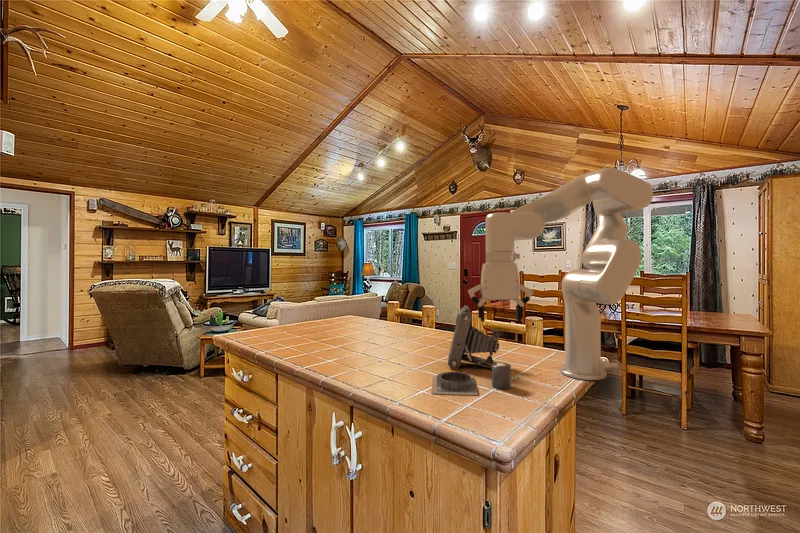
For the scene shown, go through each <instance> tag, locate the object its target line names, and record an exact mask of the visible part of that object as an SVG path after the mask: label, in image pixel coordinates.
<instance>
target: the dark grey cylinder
mask: <svg viewBox="0 0 800 533" xmlns="http://www.w3.org/2000/svg"><path fill="white" fill-rule="evenodd" d="M511 368H512V365H511V364H509V363H507V362H497V363H493V364H492V369H491V387H492V388H493V389H495V390H498V391H499V390H501V391H508V390H511V388H512V385H511V384H512V381H511V378H512V377H511V376H512V373H511V372H512V371H511V370H512V369H511Z"/></svg>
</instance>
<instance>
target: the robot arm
mask: <svg viewBox="0 0 800 533" xmlns="http://www.w3.org/2000/svg"><path fill="white" fill-rule="evenodd" d="M653 191H654V190H653V188H652V186H651V185H650V183H648V182H647V181H645V180H644V179H642V178H639V177H638V176H635V175H633V174H631V173H628V172H626V171H623V170H620V169H617V168H613V167H604V168H600V169H596V170H593V171H590V172H586V173H582V174H580V175H578V176H576V177H575V178H573V179H571V180H569V181H568V182H566V183H565V184H563V185H561V186H560V187H558V188H556V189H554V190H552V191H550V192H548V193H546V194H544V195H541V196H540V197H539V198H536V199H534V200H532V201H530V202H528V203H526V204H524V205H522V206H519V207H517V208H516V209H514V210H512V211H510V212H506V211H505V212H503V211H501V212H492V213H488V214H487V215H486V216H485V263H482V266H481V276H480V284H478V285H475V286H474V287H472V288H470V289H468V290H467V292H468V294H469V297H470V298H471V300H472V301H473V302H474V303H475V304H476V305H477V306H478V307H477V310H478V312H477V313H478V314H477V316H478V318H480V321H481V322H484V321H485V306H484V304H485V303H486V302H487V301H514V302H516V306H515V320H516V321H517V322H518V323H519V322H520V323H521V322H522V319H523V318H524V306H525V305H527V304H528V302H529V301H530V300H531V298H532V296H533V294H534V290H533V289H532V288H529V287H527V286H525V285H523V284H521V283H520V274H519V268H518V264H517V263H516V260H520V258H521V254H520V253H516V252H515V241H527V240H528V241H529V240H533V239H536V238H539V236H541V235H542V234H543V233H544V231H545V228H546V227H545V225H546V224H547V223H551V222H556V221H559V220H562V219H565V218H568V217H569V216H571V215H572V214H574V213H575V212H577V211H578V210H580V209H581V208H584V207H585V206H586V205H587V204H590V203H592V206H593V209H594V213H595V215H596V220H597V226H596V229H595V231H594V233H593V234H592V237H591V238H590V240H589V242H588V244H587V245H586V247H585V249H584V250H583V253H582V257H581V263H582V265H583V267H585V268H586V269H584V268H581V269H580V268H579V269H573V270H570V271H568V272H567V273H565V275H564V276H563V277H562V280H561V291H562V296H563V301H564V311H565V312H564V316H565V318H564V319H565V320H564V321H565V323H564V324H565V326H564V328H565V330H564V331H565V332H564V333H565V334H564V335H565V336H564V338H565V340H564V341H565V342H564V343H565V345H564V353H565V355H564V357H565V359H564V360H565V361H564V362H565V363H564V364H562V365H560V367H559V372H560V373H561V374H563V375H564V376H566V377H570V378H574V379H578V380H584V381H600V380H604V379H605V378H607V371H608V370H619V366H620V365H619V363H617V362H610V361H608V360H607V361H606V360H602V359H601V352H602V351H601V350H602V349H601V348H602V347H601V334H602V333H601V328H602V327H601V326H602V324H601V323H602V320H601V313H600V312H601V311H600V310H599V308H598V305H597V304H601V305H614V304H617V303H618V302H619V301H621V300H622V298H624V296H625V294H626V292H627V291H628V289H629V287H630V286H631V283H632V282H633V280H634V278H635V275H636V274H637V271H638V270H639V267H640V266H641V262H642V251H641V247H640V245H639V244H638V242H635V241H634V240H632V239H629V238H627V235H628V231H629V230H628V227H627V224H626V222H625V221H624V219H623V217H622V215H621V213H626V212H633V211H639V210H643V209H645V208H647V207H648V206H649V205H650V204H651V203H652V202H653V197H654V196H653V195H654V192H653ZM478 291H480V296H481V297H480V299H478V297H477V296H476V295H475V293H476V292H478ZM521 291H523V292H525V295H524V297H523V298H520V296H521Z"/></svg>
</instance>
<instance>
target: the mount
mask: <svg viewBox="0 0 800 533" xmlns="http://www.w3.org/2000/svg"><path fill="white" fill-rule="evenodd" d="M431 379H432V380H431V389H430V390H431V395H455V396H456V395H457V396H460V395H461V396H479V393H478V392H479V391H478V388H477V385H476V384H477V383H476V380H475V377H471V375H469V374H467V373H465V372H461V371H443V372H440V373H438V374H437V375H436V376H432V378H431Z"/></svg>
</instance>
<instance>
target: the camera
mask: <svg viewBox="0 0 800 533" xmlns="http://www.w3.org/2000/svg"><path fill="white" fill-rule="evenodd" d="M472 319H473V318H472V312H471V310H470V307H469V306H468V305H465V304H464V306H463V307H462V308H460V309H459V312H458V313H457V316H456V319H455V327H454V332H453V336H452V340H451V345H450V348H449V353H448V359H447V365H448V367H449V368H450V369H451V370H457V369H458V368H460V366H461V362H466V363H469V364H472V365H477V366H480V367H484V368H488V369H491V370H492V364H493V363H497V362H496V361H495V360H494V359H493V357H492V356H493V355H494V354H497V352H498V351H499V348H500V343H499V340H500V331H499V330H498V329H496V328H495V329H494V328H491V330H490V331H491V334H493V338H492V337H491V336H489V334H486V333H484V332H483V331H480V330H479V329H478V328H476V327H475V326H473V325H471V322H472ZM477 353H478V354H480V353H489V355H488V356H487V357H486V359H485V358H482V357H478V356H475V355H472V354H477Z"/></svg>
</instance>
